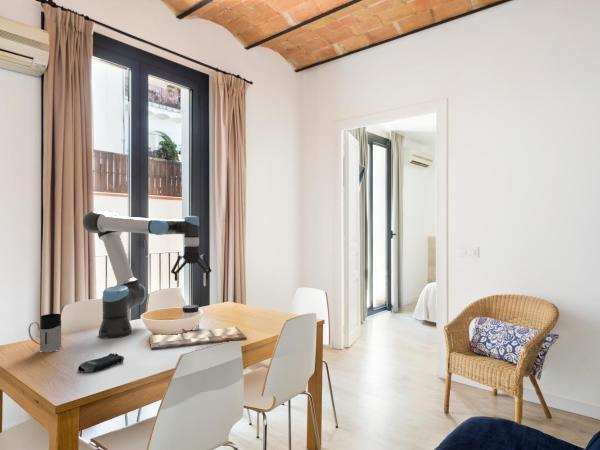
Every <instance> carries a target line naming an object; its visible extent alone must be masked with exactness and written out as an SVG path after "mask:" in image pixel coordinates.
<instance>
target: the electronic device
mask: <svg viewBox="0 0 600 450" xmlns="http://www.w3.org/2000/svg"><path fill="white" fill-rule="evenodd" d="M124 360H125V356H123V355H119V354H118V353H117V352H116V353H112V352H110V353H109V354H108V355H106V356H102V357H98V358H95V359H91V360H87V361H84V362H82V363H80V364H79V366H78V367H77V373H82V374H90V373H91V374H92V373H97V372H99V371H103V370H106V369H109V368H110V367H114V366H115V365H118V364H123V363H124ZM82 370H84V371H82Z"/></svg>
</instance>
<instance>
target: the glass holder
mask: <svg viewBox="0 0 600 450" xmlns="http://www.w3.org/2000/svg"><path fill="white" fill-rule="evenodd" d="M34 324H36V326H37V330H38V331H40V332H39V334H40V335H39V342H37V341H36V340H35V339H34V338H33V336H32V335H31V328H32V327H31V326H32V325H34ZM28 336H29V337H30V339H31V341H32V342H34V343H35V344H36V345H38V346H39V350H40V351H42V352H50V353H53V352H52V351H55V352H57V351H56V350H59V351H61V350H62V349H63V346H62V314H61V313H47V314H42V315H41V316H40V324H39V323H38V322H37V321H34V322H31V323H30V324H29V326H28ZM61 348H62V349H61ZM60 349H61V350H60Z"/></svg>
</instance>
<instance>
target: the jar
mask: <svg viewBox="0 0 600 450" xmlns="http://www.w3.org/2000/svg"><path fill="white" fill-rule="evenodd" d="M199 309H200V308H199V305H197V304H187V305H182V311H181V319H182V318H187V317H192V316H196V315H197V314H199V315H200V311H199ZM199 329H200V323H199V324H198V325H197V326H196V328H195V329H194V330H193V331H198V330H199Z"/></svg>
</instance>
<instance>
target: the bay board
mask: <svg viewBox="0 0 600 450" xmlns="http://www.w3.org/2000/svg"><path fill="white" fill-rule="evenodd" d="M186 332H187V333H183V334H178V335H161V334H153V335H149V343H150V344H151V345H150V344H149V345H150V349H151V351H153V350H162V349H172V348H180V347H181V348H182V347H188V346H191V347H192V346H198V345H199V346H200V345H208V343H209V344H215V343H216V342H217V343H226V341H227V342H235V341H234V340H236V341H242V340H243V339H244V340H247V339H248V338H247V336H246V335H245V334H244V333H243V332H242V331H241V330H240V329H239V328H238V327H237V326H236V327H234V326H233V327H224V328H214V329H213V328H211V329H205V330H204V329H203V330H195V331H186Z"/></svg>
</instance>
